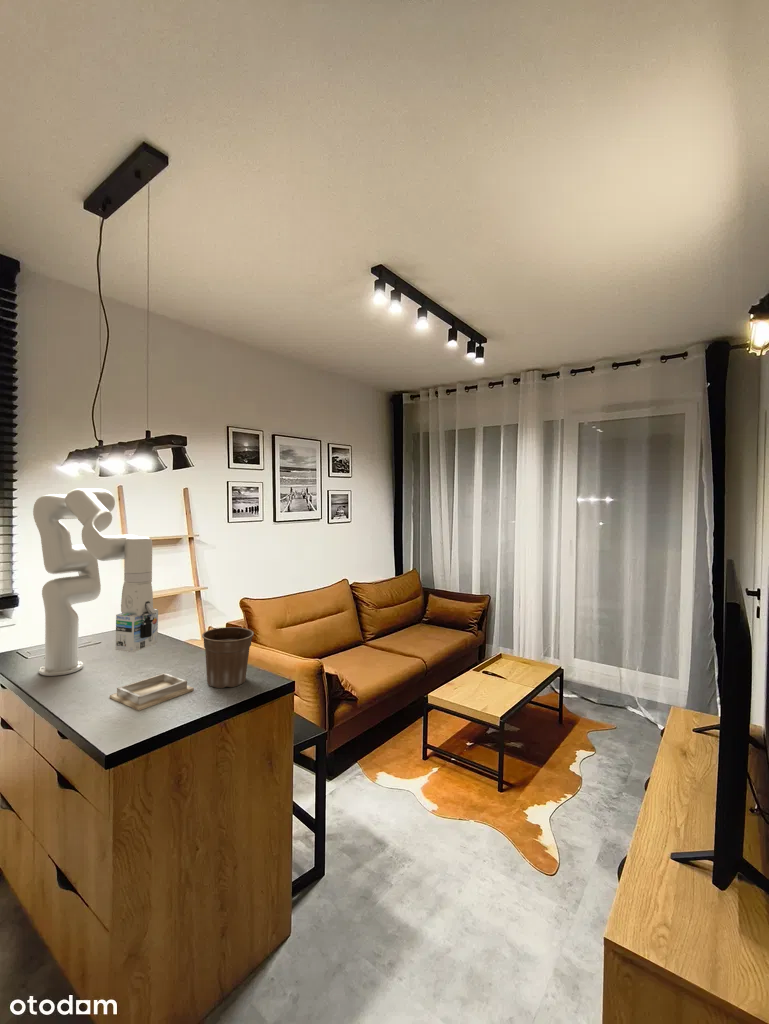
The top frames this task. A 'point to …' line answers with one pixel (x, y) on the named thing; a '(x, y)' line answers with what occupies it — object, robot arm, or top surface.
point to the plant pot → (227, 655)
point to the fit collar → (151, 691)
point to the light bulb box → (133, 632)
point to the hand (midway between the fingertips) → (137, 634)
